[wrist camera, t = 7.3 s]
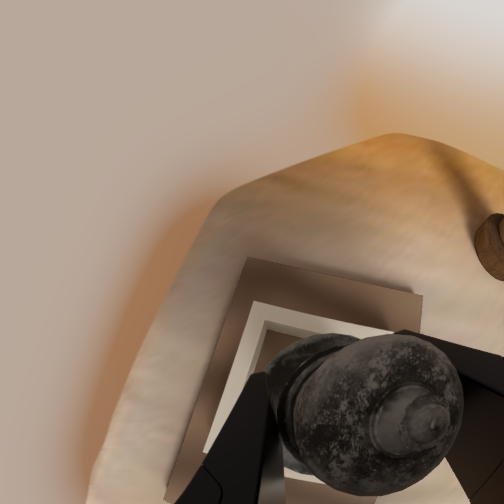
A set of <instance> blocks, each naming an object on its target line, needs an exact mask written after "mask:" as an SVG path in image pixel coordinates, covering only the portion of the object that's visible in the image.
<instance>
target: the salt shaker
mask: <svg viewBox="0 0 504 504" xmlns="http://www.w3.org/2000/svg"><path fill="white" fill-rule="evenodd" d="M263 371H265V372H266V374H267V377H268V381H269V384H270V388H271V392H272V396H273V400H274V405H275V410H276V415H277V424H278V430H279V433H280V436H281V439H282V446H283V461H284V467H285V468H288V469H290V470H293V471H295V472H298V473H300V474H305V475H313V476H315V477H316V478H318V479H319V480H321V481H322V482H324V483H325V484H327V485H328V486H330V487H331V488H333V489H335V490H338V491H341V492H344V493H348V494H351V495H355V496H383V495H387V494H391V493H394V492H398V491H401V490H404V489H406V488H407V487H409V486H411V485H413V484H415V483H416V482H418V481H420V480H422V479H423V478H424V477H425V476H427V475H428V474H429V473H430V472H431V471H432V470H433V469H434V468H436V467H437V466H438V465H439V464H440V462H441V461H442V460H443V458H444V457H445V456H446V454H447V453H448V451H449V450H450V449H451V447H452V445H453V443H454V441H455V439H456V436H457V434H458V431H459V429H460V426H461V421H462V415H463V409H464V400H463V388H462V384H461V381H460V379H459V376H458V373H457V370H456V368H455V367H454V365H453V364H452V363H451V361H450V360H449V358H448V357H447V356H446V354H445V353H443V352H442V351H441V350H439V349H438V348H437V347H436V346H434V345H433V344H432V343H430V342H428V341H425V340H422V339H420V338H417V337H415V336H410V335H399V334H385V335H379V336H373V337H366V338H364V339H359V338H357V337H354V336H352V335H345V334H337V333H328V334H319V335H312V336H310V337H307V338H304V339H301V340H299V341H296V342H294V343H292V344H291V345H289V346H288V347H286V348H285V349H283V350H282V351H280V352H279V353H278V354H277V355H276V356H275V357H274V358H273V359H272V360H271V361H270V362H269V363H268V365H267V366H266V367H265V368H264V370H263Z"/></svg>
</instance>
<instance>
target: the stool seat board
mask: <svg viewBox="0 0 504 504" xmlns="http://www.w3.org/2000/svg"><path fill="white" fill-rule="evenodd" d="M422 302H423V295H418V294H413V293H409V292H404V291H400V290H395V289H390V288H386V287H381V286H377V285H372V284H368V283H363V282H359V281H354V280H349V279H345V278H340V277H336V276H331V275H327V274H322V273H318V272H313V271H309V270H305V269H300V268H296V267H291V266H287V265H282V264H278V263H273V262H269V261H264V260H260V259H256V258H251V257H247V260H246V263H245V265H244V268H243V271H242V274H241V277H240V280H239V283H238V285H237V288H236V291H235V294H234V297H233V300H232V303H231V305H230V308H229V311H228V314H227V317H226V320H225V323H224V326H223V328H222V331H221V334H220V337H219V340H218V343H217V346H216V348H215V351H214V354H213V357H212V360H211V363H210V366H209V369H208V371H207V374H206V377H205V380H204V383H203V386H202V389H201V392H200V395H199V397H198V400H197V403H196V406H195V409H194V412H193V415H192V418H191V421H190V423H189V426H188V429H187V432H186V435H185V438H184V441H183V444H182V447H181V450H180V452H179V455H178V458H177V461H176V464H175V467H174V470H173V473H172V476H171V479H170V482H169V484H168V487H167V490H166V493H165V496H164V499H163V500H165V501H167V502H170V503H172V504H174V503H175V501H176V500H177V499H178V498H179V496H180V495H181V494H182V493H183V491H184V490H185V488H186V487H187V485H188V484H189V482H190V481H191V479H192V478H193V476H194V475H195V473H196V471H197V470H198V468H199V466H200V465H202V461H203V460H204V458H205V456H206V455H207V453H208V451H209V449H210V448H211V446H212V444H213V443H214V441H215V439H216V437H217V435H218V434H219V432H220V430H221V428H222V427H223V425H224V423H225V421H226V419H227V418H228V416H229V414H230V412H231V410H232V408H233V406H234V405H235V403H236V401H237V399H238V397H239V395H240V393H241V392H242V390H243V388H244V386H245V384H246V382H247V380H248V378H249V376H250V375H251V374H252V373H257V372H261V371H263V370H264V368H265V367H266V366H267V365H268V363H269V362H270V361H271V360H272V359H273V358H274V357H275V356H276V355H277V354H278V353H279V352H280V351H282V350H283V349H285V348H286V347H288V346H289V345H291V344H292V343H294V342H296V341H299V340H301V339H304V338H307V337H310V336H312V335H319V334H328V333H337V334H345V335H352V336H354V337H357V338H359V339H364V338H366V337H373V336H379V335H385V334H393V333H394V332H397V331H399V330H402V329H406V330H410V331H413V332H416V333H420V325H421V315H422ZM202 466H203V465H202ZM284 479H285V498H286V504H374V503H375V501H376V498H377V496H355V495H351V494H348V493H344V492H341V491H338V490H335V489H333V488H331V487H330V486H328V485H327V484H325V483H324V482H322V481H321V480H319V479H318V478H316V477H315V476H313V475H305V474H300V473H298V472H295V471H293V470H290V469H288V468H285V467H284Z"/></svg>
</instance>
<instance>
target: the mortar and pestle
mask: <svg viewBox="0 0 504 504" xmlns="http://www.w3.org/2000/svg"><path fill="white" fill-rule="evenodd" d="M475 246H476V251H477V254H478V257H479V259H480V261H481V263H482V265H483V266H484V268H485V269H486V270H487V271H488V272H489V273H490V274H491V275H492V276H493V277H495V278H496V279H498V280H501V281H504V215H503V214H499V213H496V214H492V215H491V216H489V217H488V218H487V219H486V221H485V222H484V223H483V224H482V225H481V226H480V228H479V229H478V231H477V233H476V236H475Z"/></svg>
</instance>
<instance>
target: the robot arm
mask: <svg viewBox="0 0 504 504" xmlns="http://www.w3.org/2000/svg"><path fill="white" fill-rule="evenodd" d="M393 334H399V335H410V336H415V337H417V338H420V339H422V340H425V341H428V342H430V343H432V344H433V345H434V346H436V347H437V348H438V349H439V350H441V351H442V352H443V353H445V354H446V356H447V357H448V358H449V360H450V361H451V363H452V364H453V365H454V367H455V368H456V370H457V373H458V376H459V379H460V381H461V384H462V388H463V400H464V409H463V415H462V421H461V426H460V429H459V431H458V434H457V436H456V439H455V441H454V443H453V445H452V447H451V449H450V450H449V451H448V453H447V454H446V456H445V458H446V460H447V461H448V463H449V465H450V466H451V468H452V470H453V472H454V473H455V475H456V477H457V479H458V481H459V482H460V484H461V486H462V488H463V490H464V491H465V493H466V495H467V497H468V499H470V500H469V501H470V503H471V504H504V357H502V356H500V355H496V354H492V353H488V352H485V351H481V350H477V349H473V348H470V347H466V346H462V345H459V344H455V343H451V342H448V341H444V340H441V339H437V338H434V337H430V336H427V335H423V334H420V333H416V332H413V331H410V330H406V329H402V330H399V331H397V332H394V333H393ZM202 465H203V466H202ZM202 465H200V466H199V468H198V470H197V471H196V473H195V475H194V476H193V478H192V479H191V481H190V482H189V484H188V485H187V487H186V488H185V490H184V491H183V493H182V494H181V495H180V496H179V498H178V499H177V500H176V501H175V503H174V504H286V498H285V479H284V461H283V446H282V439H281V436H280V433H279V430H278V424H277V415H276V410H275V405H274V400H273V396H272V392H271V388H270V384H269V381H268V377H267V374H266V372H265V371H261V372H257V373H252V374H251V375H250V376H249V378H248V380H247V382H246V384H245V386H244V388H243V390H242V392H241V393H240V395H239V397H238V399H237V401H236V403H235V405H234V406H233V408H232V410H231V412H230V414H229V416H228V418H227V419H226V421H225V423H224V425H223V427H222V428H221V430H220V432H219V434H218V435H217V437H216V439H215V441H214V443H213V444H212V446H211V448H210V449H209V451H208V453H207V455H206V456H205V458H204V460H203V461H202Z"/></svg>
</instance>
